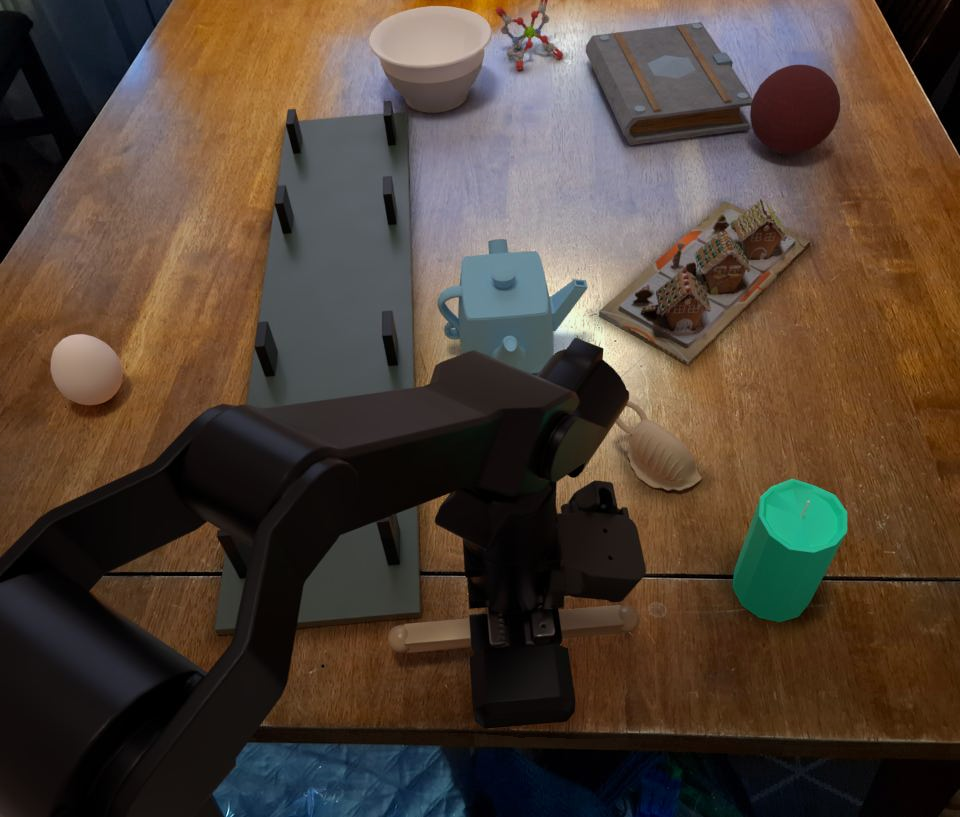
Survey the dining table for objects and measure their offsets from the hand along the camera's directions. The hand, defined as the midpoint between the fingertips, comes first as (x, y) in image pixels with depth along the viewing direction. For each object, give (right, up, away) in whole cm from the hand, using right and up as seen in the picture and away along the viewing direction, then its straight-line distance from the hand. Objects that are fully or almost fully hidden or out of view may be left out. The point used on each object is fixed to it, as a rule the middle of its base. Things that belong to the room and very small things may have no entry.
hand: (513, 634), depth 63 cm
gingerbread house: (+21, +30, +27) cm, 46 cm away
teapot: (+1, +23, +21) cm, 31 cm away
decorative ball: (+35, +49, +41) cm, 73 cm away
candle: (+20, +3, +4) cm, 21 cm away
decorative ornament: (+13, +12, +12) cm, 21 cm away
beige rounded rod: (0, 0, 0) cm, 0 cm away
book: (+22, +58, +50) cm, 80 cm away
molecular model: (+5, +67, +58) cm, 89 cm away
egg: (-40, +18, +20) cm, 48 cm away
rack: (-18, +27, +26) cm, 42 cm away
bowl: (-9, +60, +53) cm, 80 cm away
